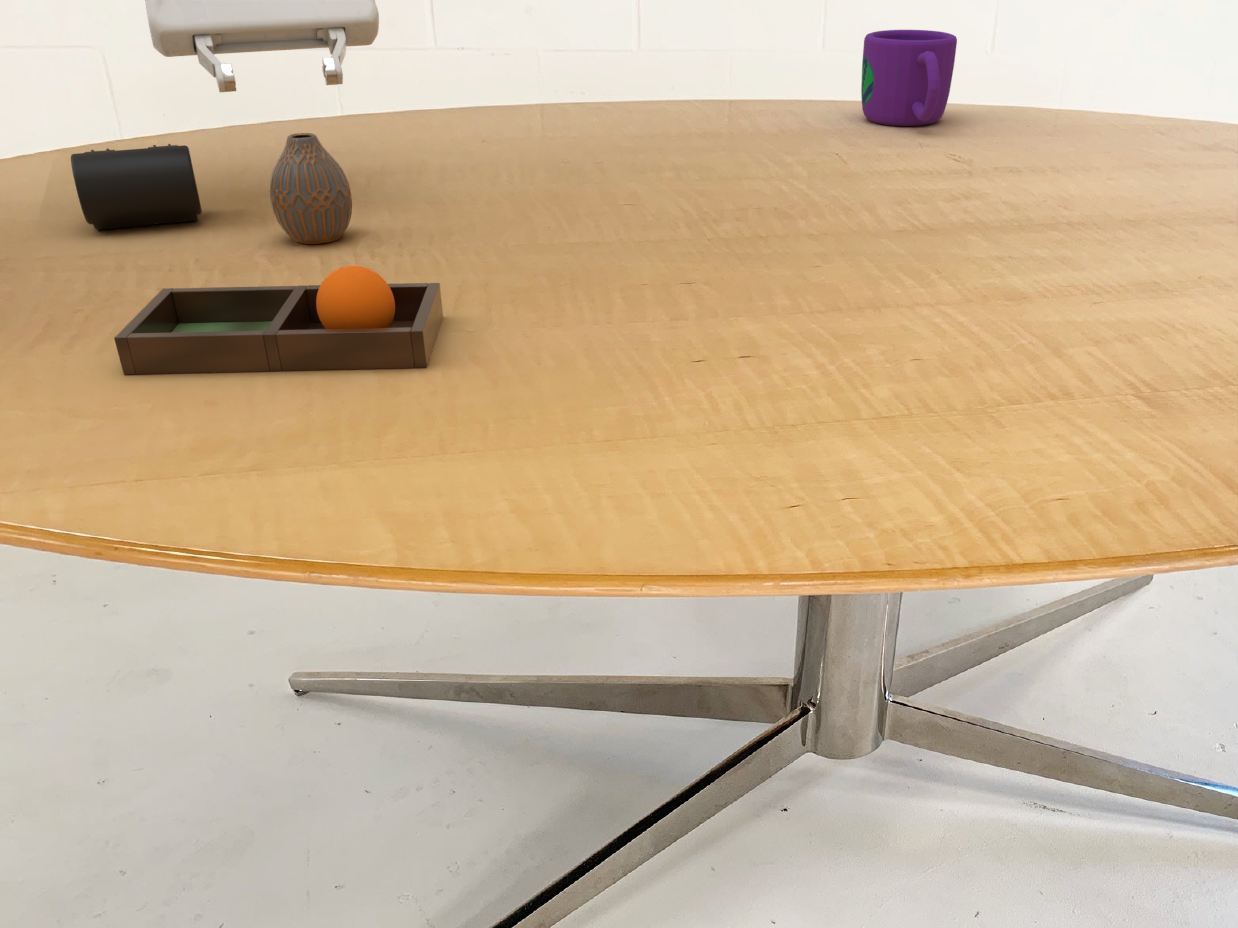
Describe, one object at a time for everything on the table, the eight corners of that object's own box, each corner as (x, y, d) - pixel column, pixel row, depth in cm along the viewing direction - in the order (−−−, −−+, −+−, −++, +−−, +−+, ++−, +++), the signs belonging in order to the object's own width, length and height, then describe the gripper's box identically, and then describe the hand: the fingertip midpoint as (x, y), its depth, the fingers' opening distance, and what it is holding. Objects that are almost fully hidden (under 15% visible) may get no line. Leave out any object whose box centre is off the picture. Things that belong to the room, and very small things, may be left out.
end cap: (89, 239, 105) (68, 160, 102) (91, 220, 111) (71, 145, 107) (205, 228, 108) (189, 151, 105) (201, 210, 114) (186, 137, 110)
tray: (125, 383, 76) (113, 337, 74) (172, 330, 85) (162, 288, 83) (428, 376, 77) (422, 331, 75) (444, 324, 85) (439, 282, 84)
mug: (848, 113, 155) (854, 30, 149) (931, 111, 156) (940, 28, 150) (884, 139, 140) (892, 48, 135) (975, 137, 141) (987, 46, 136)
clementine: (315, 356, 78) (303, 280, 76) (330, 330, 83) (318, 257, 80) (394, 355, 79) (383, 278, 76) (404, 328, 83) (395, 255, 80)
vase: (270, 234, 106) (252, 132, 102) (345, 224, 109) (331, 125, 104) (287, 253, 101) (269, 146, 96) (365, 242, 104) (351, 138, 99)
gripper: (360, -25, 114) (394, 98, 112) (137, -17, 107) (168, 114, 105) (362, -76, 108) (398, 53, 106) (127, -70, 102) (159, 68, 99)
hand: (282, 84), depth 105 cm, fingers open, 8 cm apart
